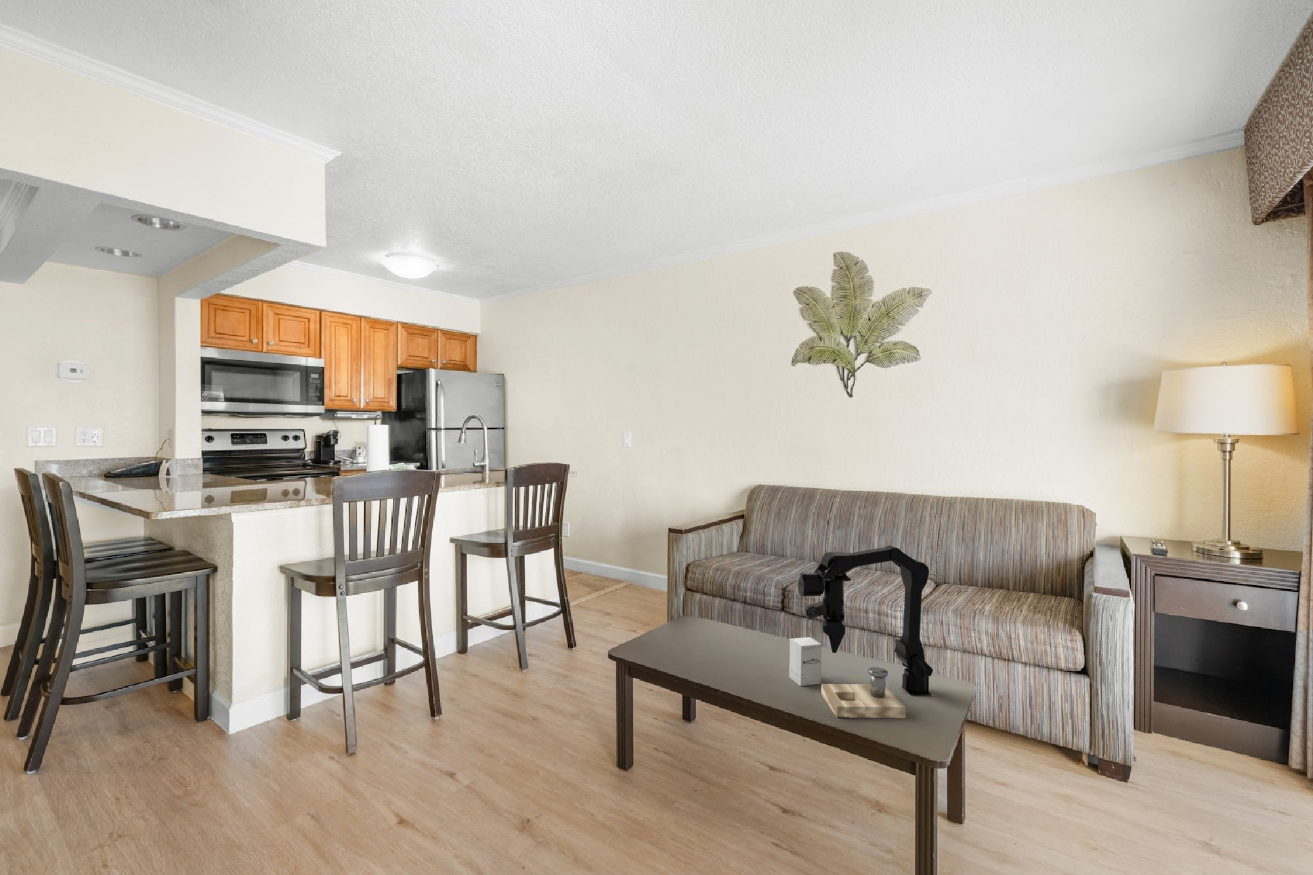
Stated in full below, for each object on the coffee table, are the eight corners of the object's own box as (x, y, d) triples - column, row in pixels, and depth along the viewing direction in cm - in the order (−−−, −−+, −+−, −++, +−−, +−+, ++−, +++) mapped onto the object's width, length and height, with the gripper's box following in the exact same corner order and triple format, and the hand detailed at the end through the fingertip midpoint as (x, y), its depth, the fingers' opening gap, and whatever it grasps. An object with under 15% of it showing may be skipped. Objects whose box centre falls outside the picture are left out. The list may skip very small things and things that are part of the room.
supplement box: (800, 686, 183) (800, 645, 183) (788, 677, 190) (789, 637, 190) (821, 684, 185) (822, 643, 185) (809, 675, 192) (809, 636, 192)
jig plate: (884, 694, 178) (884, 684, 178) (906, 718, 163) (906, 707, 163) (821, 693, 178) (821, 683, 178) (836, 717, 163) (836, 706, 163)
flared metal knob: (883, 691, 173) (883, 667, 173) (890, 699, 168) (890, 674, 168) (865, 691, 173) (865, 667, 173) (871, 699, 168) (872, 674, 168)
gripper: (807, 586, 190) (807, 635, 190) (804, 601, 172) (805, 655, 172) (844, 588, 187) (844, 638, 187) (845, 604, 169) (845, 659, 169)
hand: (834, 647), depth 179 cm, fingers open, 9 cm apart
